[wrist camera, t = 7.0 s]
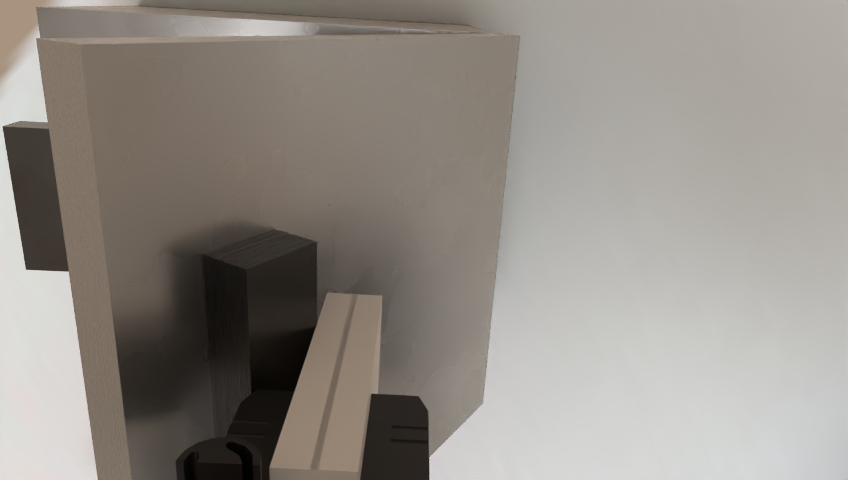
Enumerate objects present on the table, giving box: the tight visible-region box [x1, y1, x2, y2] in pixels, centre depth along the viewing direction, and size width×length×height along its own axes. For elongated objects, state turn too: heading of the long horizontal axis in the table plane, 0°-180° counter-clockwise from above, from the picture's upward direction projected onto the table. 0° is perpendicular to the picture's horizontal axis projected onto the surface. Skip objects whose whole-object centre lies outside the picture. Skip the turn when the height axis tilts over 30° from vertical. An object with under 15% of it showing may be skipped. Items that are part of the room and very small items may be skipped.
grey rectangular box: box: [3, 6, 487, 271], centre depth 30 cm, size 18×15×9 cm
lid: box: [36, 33, 520, 480], centre depth 19 cm, size 16×15×2 cm
